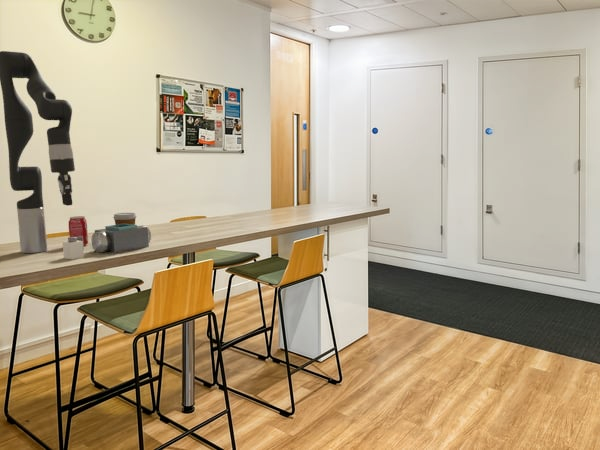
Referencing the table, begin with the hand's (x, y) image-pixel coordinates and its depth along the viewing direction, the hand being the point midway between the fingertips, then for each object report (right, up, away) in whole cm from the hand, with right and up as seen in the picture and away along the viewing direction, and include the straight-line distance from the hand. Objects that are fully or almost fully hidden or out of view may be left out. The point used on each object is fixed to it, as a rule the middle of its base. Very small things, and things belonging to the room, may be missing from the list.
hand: (67, 204), depth 178 cm
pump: (-2, -19, +10) cm, 21 cm away
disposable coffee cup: (+5, -14, +44) cm, 47 cm away
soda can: (-11, -16, +35) cm, 40 cm away
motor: (+10, -16, +27) cm, 33 cm away
